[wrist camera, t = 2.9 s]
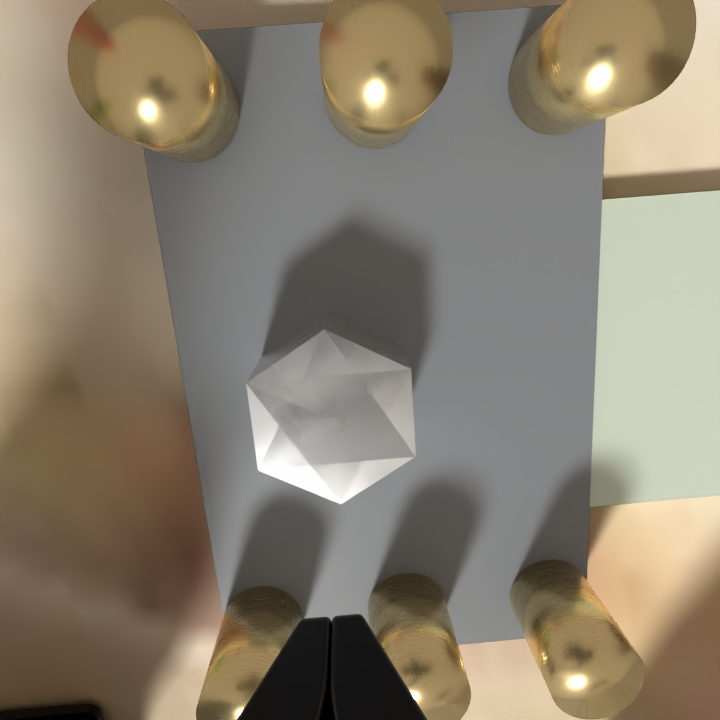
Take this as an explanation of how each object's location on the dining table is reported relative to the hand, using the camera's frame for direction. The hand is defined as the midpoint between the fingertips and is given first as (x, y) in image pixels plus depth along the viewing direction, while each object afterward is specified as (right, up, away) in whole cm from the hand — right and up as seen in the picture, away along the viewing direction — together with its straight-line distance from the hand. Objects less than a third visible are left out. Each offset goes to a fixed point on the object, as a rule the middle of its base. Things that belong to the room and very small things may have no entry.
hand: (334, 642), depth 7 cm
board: (+1, +3, +11) cm, 12 cm away
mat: (+12, +4, +12) cm, 17 cm away
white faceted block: (-1, +3, +11) cm, 11 cm away
